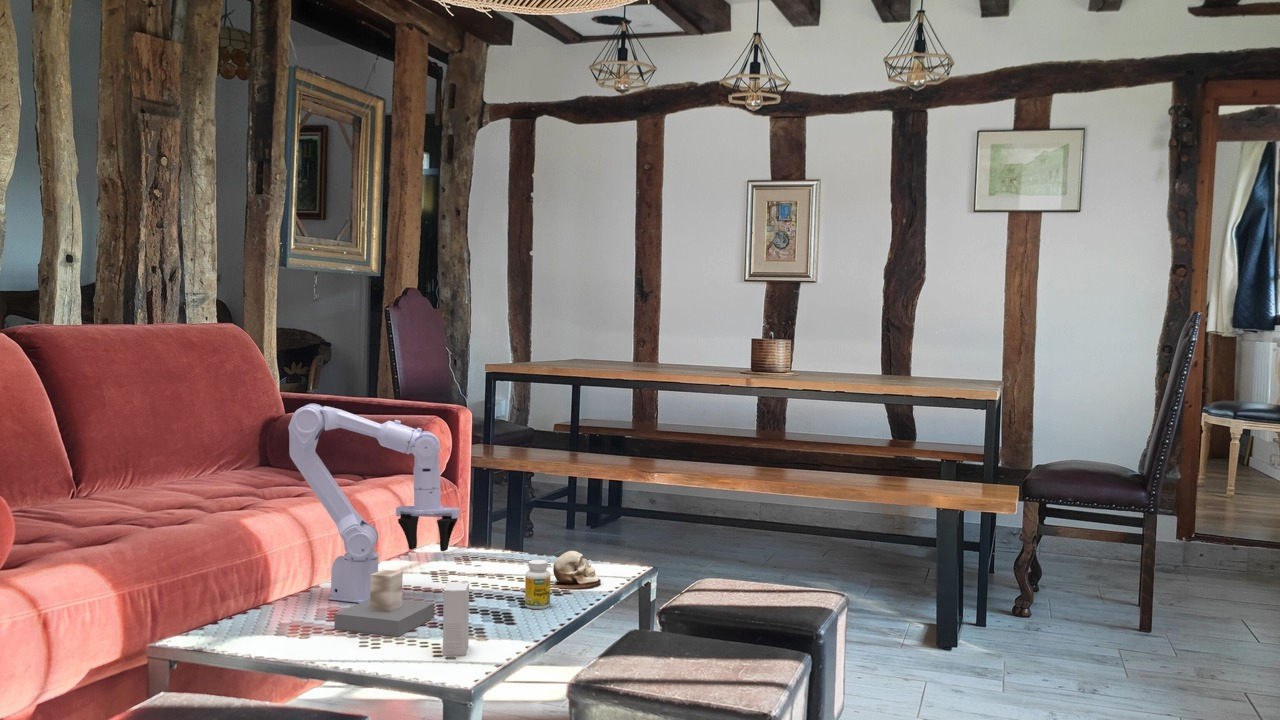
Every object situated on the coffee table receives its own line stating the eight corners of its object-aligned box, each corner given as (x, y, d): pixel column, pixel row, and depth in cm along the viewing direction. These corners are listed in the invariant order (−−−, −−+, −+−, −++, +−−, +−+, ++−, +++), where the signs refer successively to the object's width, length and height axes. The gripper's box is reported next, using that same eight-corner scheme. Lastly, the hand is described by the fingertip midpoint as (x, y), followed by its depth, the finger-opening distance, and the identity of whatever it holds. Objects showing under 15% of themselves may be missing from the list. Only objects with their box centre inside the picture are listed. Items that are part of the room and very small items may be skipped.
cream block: (370, 609, 202) (370, 574, 202) (382, 604, 206) (382, 569, 206) (390, 612, 201) (390, 576, 201) (402, 606, 205) (402, 571, 205)
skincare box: (445, 645, 190) (446, 581, 189) (468, 645, 190) (469, 581, 190) (441, 656, 184) (443, 589, 183) (465, 656, 184) (467, 589, 184)
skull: (605, 574, 246) (602, 548, 239) (598, 611, 239) (594, 585, 232) (557, 569, 248) (552, 543, 241) (548, 606, 240) (542, 580, 233)
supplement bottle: (542, 601, 223) (543, 557, 222) (554, 607, 218) (555, 562, 218) (520, 605, 220) (521, 560, 219) (531, 610, 215) (532, 565, 215)
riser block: (334, 629, 199) (334, 613, 199) (373, 611, 212) (373, 596, 212) (398, 636, 195) (398, 621, 195) (434, 617, 208) (434, 603, 208)
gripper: (388, 489, 222) (389, 551, 223) (448, 491, 218) (449, 555, 218) (404, 484, 229) (406, 545, 229) (463, 486, 225) (464, 548, 225)
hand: (428, 549), depth 224 cm, fingers open, 7 cm apart
